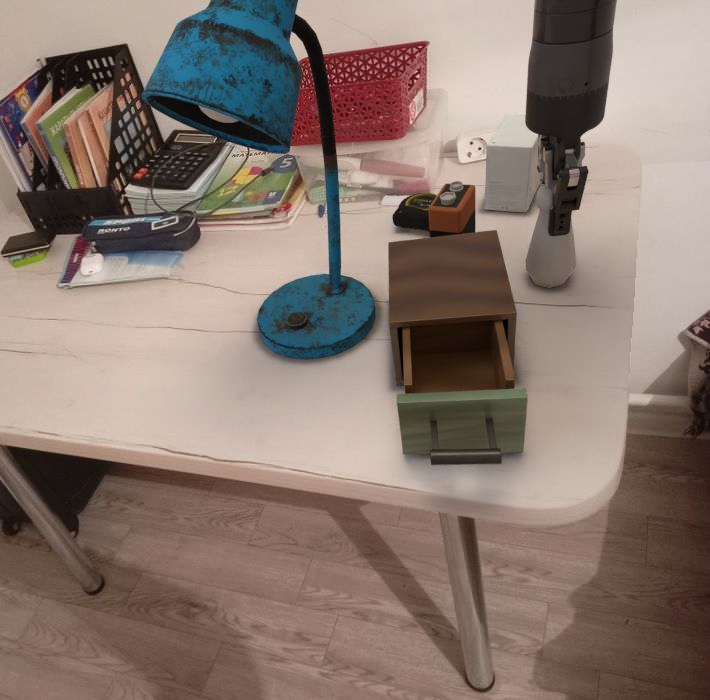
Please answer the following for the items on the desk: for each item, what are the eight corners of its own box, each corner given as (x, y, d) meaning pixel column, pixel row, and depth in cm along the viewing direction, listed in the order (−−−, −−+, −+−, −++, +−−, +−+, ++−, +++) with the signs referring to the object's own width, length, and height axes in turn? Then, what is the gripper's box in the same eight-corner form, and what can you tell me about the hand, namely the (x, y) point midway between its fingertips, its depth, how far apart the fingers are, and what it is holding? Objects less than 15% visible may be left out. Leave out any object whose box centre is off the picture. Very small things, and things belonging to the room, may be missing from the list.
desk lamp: (210, 354, 84) (73, -9, 56) (315, 268, 93) (243, -82, 65) (295, 401, 74) (181, -17, 45) (404, 300, 83) (366, -102, 54)
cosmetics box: (528, 213, 91) (533, 146, 84) (483, 210, 94) (484, 145, 87) (545, 178, 97) (550, 112, 90) (501, 176, 100) (503, 113, 93)
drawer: (532, 494, 57) (537, 440, 52) (404, 494, 60) (397, 443, 55) (503, 351, 71) (505, 297, 66) (400, 357, 74) (395, 307, 69)
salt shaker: (578, 267, 79) (591, 175, 71) (569, 294, 76) (581, 201, 68) (529, 262, 82) (536, 173, 74) (518, 288, 79) (524, 198, 71)
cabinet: (513, 379, 68) (516, 312, 62) (396, 385, 72) (388, 322, 66) (495, 293, 80) (496, 229, 73) (394, 302, 83) (388, 242, 77)
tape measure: (391, 232, 96) (389, 211, 93) (412, 209, 99) (410, 188, 97) (432, 239, 92) (431, 217, 89) (453, 215, 95) (452, 193, 93)
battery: (430, 264, 87) (426, 201, 81) (446, 238, 91) (444, 176, 85) (461, 268, 85) (460, 204, 79) (476, 241, 89) (476, 177, 82)
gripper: (629, 98, 57) (604, 253, 68) (591, 47, 67) (575, 189, 78) (540, 112, 59) (530, 260, 70) (517, 61, 69) (511, 197, 80)
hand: (554, 222), depth 74 cm, fingers closed on salt shaker, 4 cm apart
